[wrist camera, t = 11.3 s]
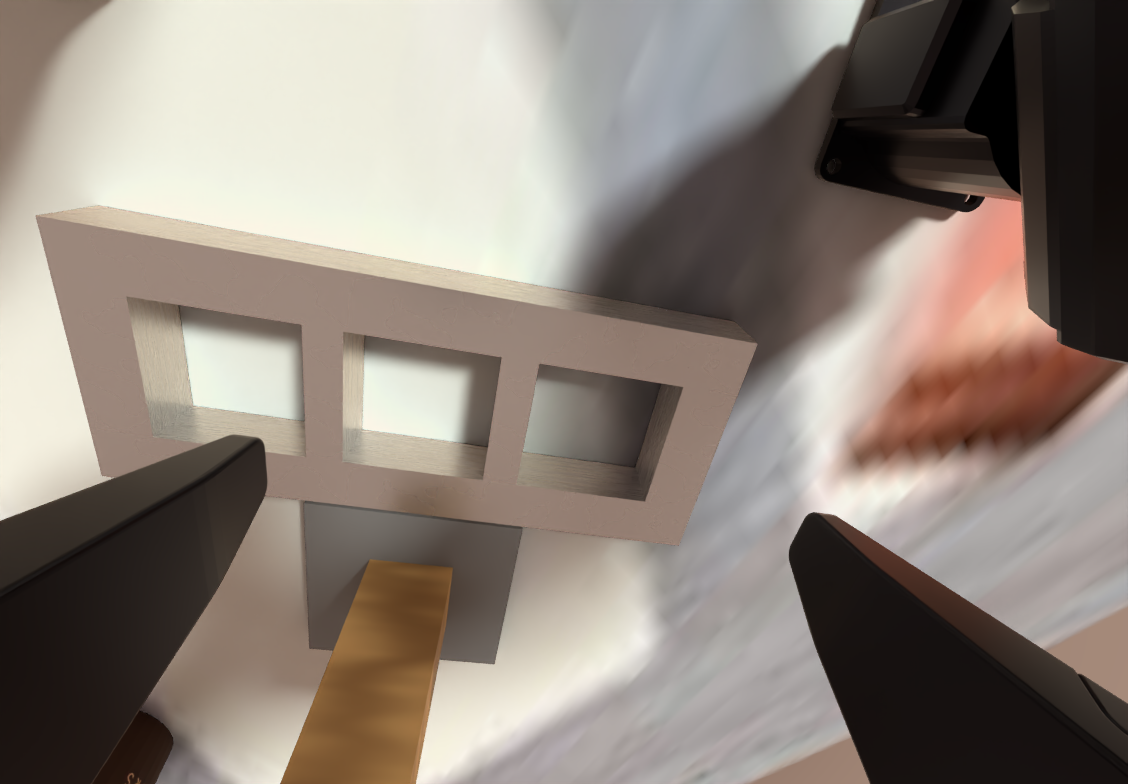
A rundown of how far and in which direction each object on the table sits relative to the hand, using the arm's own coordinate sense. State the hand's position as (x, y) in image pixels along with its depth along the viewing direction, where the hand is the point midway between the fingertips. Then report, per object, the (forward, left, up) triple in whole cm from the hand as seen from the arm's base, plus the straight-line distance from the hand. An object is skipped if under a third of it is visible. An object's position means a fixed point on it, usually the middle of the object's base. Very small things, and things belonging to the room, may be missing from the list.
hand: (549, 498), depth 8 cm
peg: (+4, +16, -12) cm, 21 cm away
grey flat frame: (+4, +5, -13) cm, 14 cm away
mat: (+4, +16, -13) cm, 21 cm away
